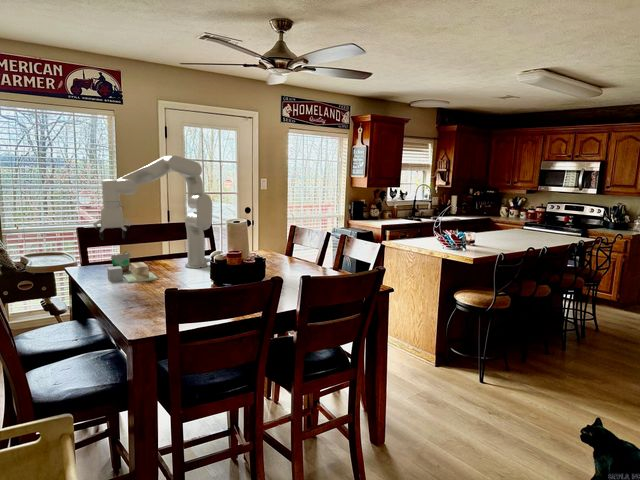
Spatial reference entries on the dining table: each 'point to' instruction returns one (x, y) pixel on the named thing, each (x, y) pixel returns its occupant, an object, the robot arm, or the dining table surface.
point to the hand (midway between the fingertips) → (113, 239)
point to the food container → (121, 261)
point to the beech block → (139, 270)
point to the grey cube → (115, 273)
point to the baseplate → (130, 279)
